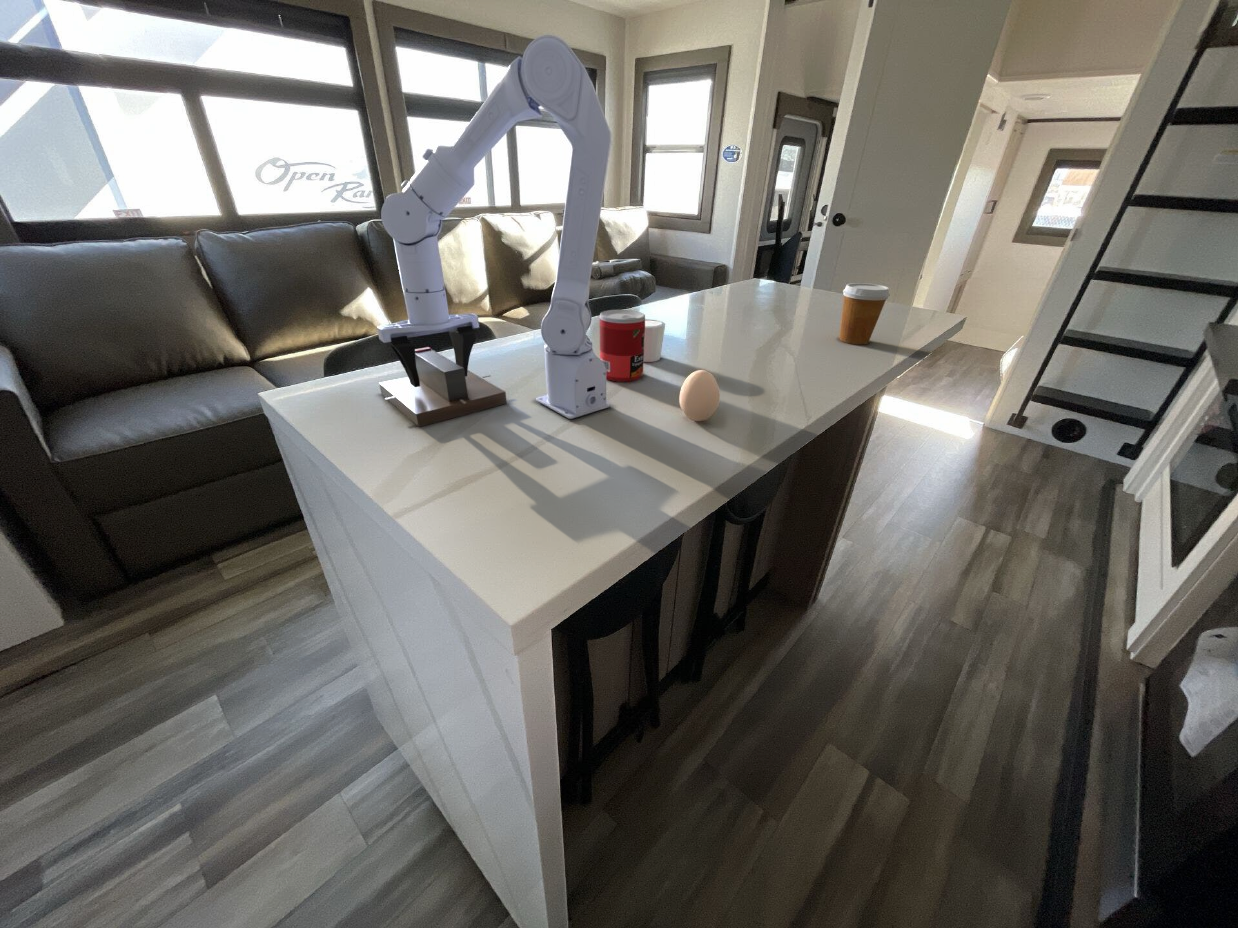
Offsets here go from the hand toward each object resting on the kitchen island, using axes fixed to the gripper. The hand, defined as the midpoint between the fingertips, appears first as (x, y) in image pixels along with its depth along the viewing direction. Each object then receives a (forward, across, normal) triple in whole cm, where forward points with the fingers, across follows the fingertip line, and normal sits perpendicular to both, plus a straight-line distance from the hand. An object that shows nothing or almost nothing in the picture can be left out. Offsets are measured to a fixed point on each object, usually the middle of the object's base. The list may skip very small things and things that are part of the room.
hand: (439, 379), depth 77 cm
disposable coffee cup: (+3, -88, +24) cm, 91 cm away
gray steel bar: (+1, 0, 0) cm, 1 cm away
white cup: (+3, -41, +4) cm, 41 cm away
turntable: (+3, 0, 0) cm, 3 cm away
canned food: (+3, -30, +9) cm, 31 cm away
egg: (+3, -26, +31) cm, 41 cm away
